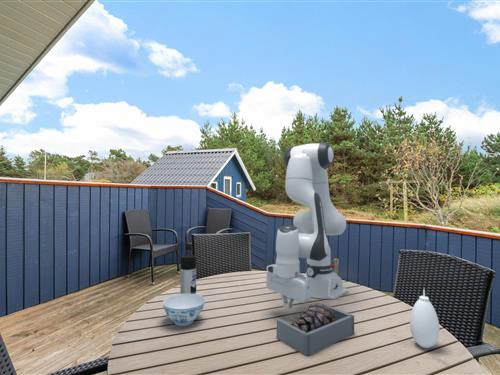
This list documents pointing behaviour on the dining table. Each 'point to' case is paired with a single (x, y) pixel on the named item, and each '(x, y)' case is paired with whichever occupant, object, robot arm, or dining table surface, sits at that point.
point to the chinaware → (183, 308)
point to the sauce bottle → (424, 322)
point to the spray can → (188, 274)
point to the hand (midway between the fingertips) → (287, 307)
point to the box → (316, 333)
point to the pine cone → (314, 317)
